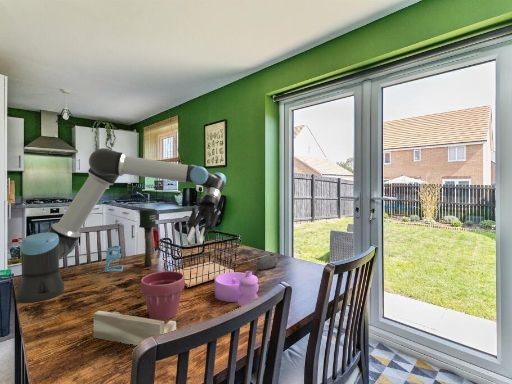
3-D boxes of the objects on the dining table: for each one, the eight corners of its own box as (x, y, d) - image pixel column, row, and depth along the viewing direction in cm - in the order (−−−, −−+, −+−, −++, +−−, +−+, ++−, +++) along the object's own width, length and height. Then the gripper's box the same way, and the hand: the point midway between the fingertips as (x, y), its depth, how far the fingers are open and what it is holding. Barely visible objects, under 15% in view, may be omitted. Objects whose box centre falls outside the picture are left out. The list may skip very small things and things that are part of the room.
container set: (209, 290, 117) (209, 259, 116) (242, 284, 124) (243, 255, 123) (232, 316, 95) (233, 278, 94) (271, 307, 102) (272, 272, 101)
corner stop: (114, 323, 89) (114, 302, 89) (176, 334, 83) (176, 311, 83) (93, 337, 81) (93, 313, 81) (160, 350, 76) (160, 324, 75)
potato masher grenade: (150, 269, 143) (150, 210, 142) (135, 267, 145) (135, 210, 144) (159, 264, 151) (159, 209, 150) (145, 263, 153) (145, 208, 152)
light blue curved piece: (105, 268, 143) (104, 245, 143) (123, 266, 147) (122, 243, 146) (103, 273, 136) (103, 248, 136) (122, 271, 140) (122, 247, 139)
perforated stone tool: (260, 272, 141) (260, 258, 140) (253, 269, 145) (253, 256, 144) (280, 266, 151) (281, 253, 150) (273, 264, 155) (274, 251, 154)
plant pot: (135, 311, 97) (135, 275, 97) (175, 301, 106) (175, 268, 105) (148, 329, 86) (148, 288, 85) (191, 316, 94) (191, 279, 94)
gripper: (230, 205, 132) (216, 248, 117) (196, 204, 136) (178, 245, 121) (226, 194, 127) (211, 238, 111) (191, 193, 131) (171, 235, 116)
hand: (194, 241), depth 116 cm, fingers open, 4 cm apart
